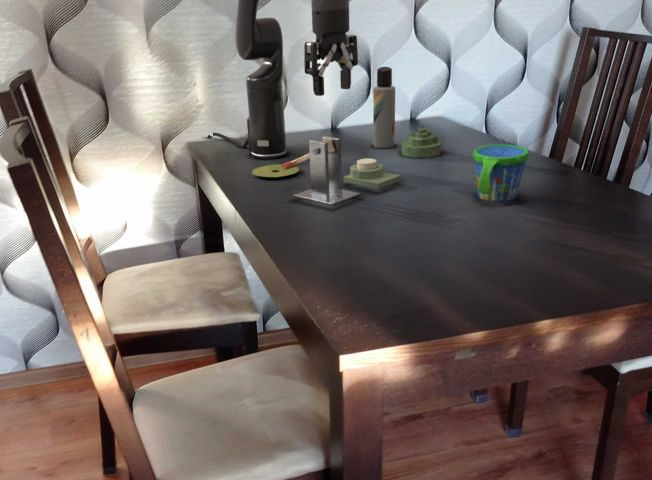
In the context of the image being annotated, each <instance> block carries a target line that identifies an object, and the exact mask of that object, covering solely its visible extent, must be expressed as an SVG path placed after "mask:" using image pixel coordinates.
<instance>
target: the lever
mask: <svg viewBox="0 0 652 480" xmlns="http://www.w3.org/2000/svg"><path fill="white" fill-rule="evenodd" d="M325 142H328V154H330V153H332V152H334V151H335V149H334V146H333V143H332V140H328V141H325ZM308 160H310V152H308V153H307V154H304V155H302V156H301V157H299V158H296V159H292V160H290V161H287V162H283V163H282V168H283V169H284V170H287V169H290V168H293V167H300V166H302V165H303V163H304V162H306V161H308Z"/></svg>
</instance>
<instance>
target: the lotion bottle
mask: <svg viewBox="0 0 652 480" xmlns="http://www.w3.org/2000/svg"><path fill="white" fill-rule="evenodd" d="M372 90H373V94H372V95H373V98H372V99H373V118H372V120H373V123H372V124H373V125H372V126H373V127H372V128H373V130H372V131H373V132H372V133H373V134H372V135H373V140H372V141H373V147H374V148H376V149H390V148H393V147H395V142H396V141H395V138H396V133H395V132H396V86H394V85H393V68H391V67H390V66H380V67H378V68H377V69H376V86H374V87H373V89H372Z"/></svg>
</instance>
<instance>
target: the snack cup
mask: <svg viewBox="0 0 652 480" xmlns="http://www.w3.org/2000/svg"><path fill="white" fill-rule="evenodd" d="M529 154H530V152H529V150H528V149H527V148H526V147H523V146H519V145H513V144H488V145H482V146H479V147H476V148H475V149H474V150H473V153H472V158H473V160H474V163H475V179H476V188H477V193H476V194H477V197H478V198H479V199H481V200H484V201H488V202H508V201H511V200H516V198H517V196H518V192H519V188H520V184H521V181H522V177H523V172H524V168H525V165H526V162H527V160H528V158H529V156H530V155H529Z"/></svg>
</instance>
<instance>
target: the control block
mask: <svg viewBox="0 0 652 480" xmlns="http://www.w3.org/2000/svg"><path fill="white" fill-rule="evenodd" d="M401 179H402V175H401V174H396V173H390V172H385V170H384V165H383V164H381V163H377V168H376V169H372V170H360V169H357V163H356V164H355V163H354V164H352V165H351V166H350V168H349V174H348V175H345V176H343V183H346V184H351V185H356V186H360V187H365V188H369V189H370V188H371V189H376V190H380V189H382V188H385V187H388V186H390V185H393V184H396V183H398V182H401V181H402V180H401Z"/></svg>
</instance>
